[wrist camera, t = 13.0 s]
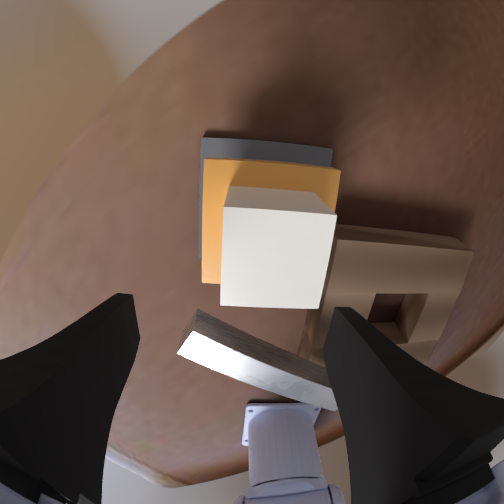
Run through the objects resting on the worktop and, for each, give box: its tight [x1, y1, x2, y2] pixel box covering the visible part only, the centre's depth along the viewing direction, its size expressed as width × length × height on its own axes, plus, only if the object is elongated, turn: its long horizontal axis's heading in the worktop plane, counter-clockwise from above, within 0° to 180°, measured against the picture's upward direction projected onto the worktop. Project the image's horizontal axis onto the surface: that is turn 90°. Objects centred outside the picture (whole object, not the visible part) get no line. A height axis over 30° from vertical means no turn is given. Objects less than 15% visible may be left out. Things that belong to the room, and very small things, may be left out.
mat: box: [198, 137, 333, 260], centre depth 18 cm, size 8×8×1 cm
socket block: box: [298, 224, 475, 367], centre depth 20 cm, size 12×12×3 cm
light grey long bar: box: [178, 309, 339, 411], centre depth 18 cm, size 13×2×3 cm, turn 57°
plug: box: [202, 157, 341, 309], centre depth 14 cm, size 6×6×8 cm
